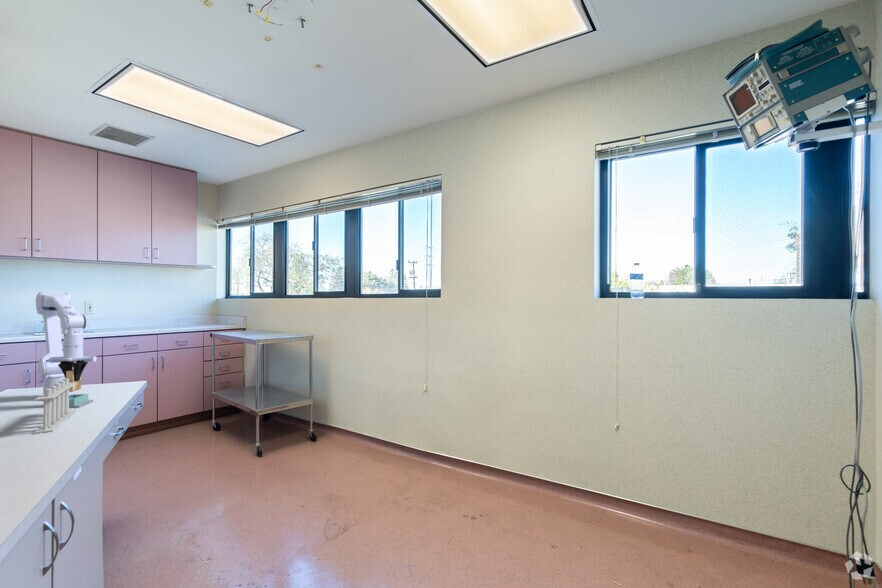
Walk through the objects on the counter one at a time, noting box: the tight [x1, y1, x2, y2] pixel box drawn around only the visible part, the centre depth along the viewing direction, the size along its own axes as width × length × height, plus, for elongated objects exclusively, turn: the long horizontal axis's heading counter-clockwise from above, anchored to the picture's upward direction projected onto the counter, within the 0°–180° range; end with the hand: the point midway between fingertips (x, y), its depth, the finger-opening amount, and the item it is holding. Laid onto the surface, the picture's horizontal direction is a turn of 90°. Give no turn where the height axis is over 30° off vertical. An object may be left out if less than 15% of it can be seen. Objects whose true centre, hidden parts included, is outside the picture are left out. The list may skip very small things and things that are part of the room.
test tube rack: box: [33, 378, 77, 435], centre depth 137 cm, size 25×4×13 cm, turn 29°
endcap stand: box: [69, 393, 94, 409], centre depth 158 cm, size 9×9×3 cm
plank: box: [66, 368, 82, 393], centre depth 158 cm, size 5×2×8 cm, turn 13°
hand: (72, 380), depth 158 cm, fingers closed on plank, 2 cm apart
